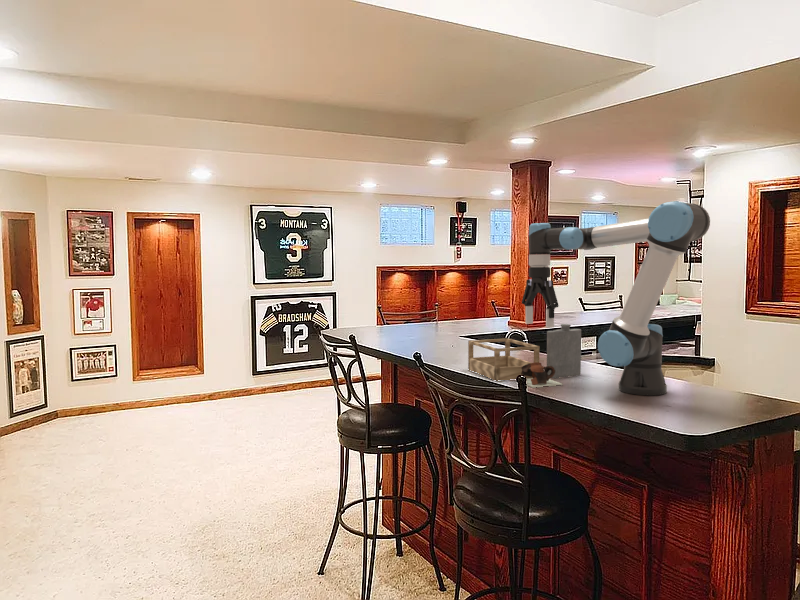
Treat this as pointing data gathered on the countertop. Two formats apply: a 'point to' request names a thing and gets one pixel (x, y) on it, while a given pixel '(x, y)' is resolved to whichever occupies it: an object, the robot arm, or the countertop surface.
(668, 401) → the countertop surface
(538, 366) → the pottery mug
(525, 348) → the oak crate
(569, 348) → the hip flask
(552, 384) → the sage board
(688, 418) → the countertop surface
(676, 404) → the countertop surface
